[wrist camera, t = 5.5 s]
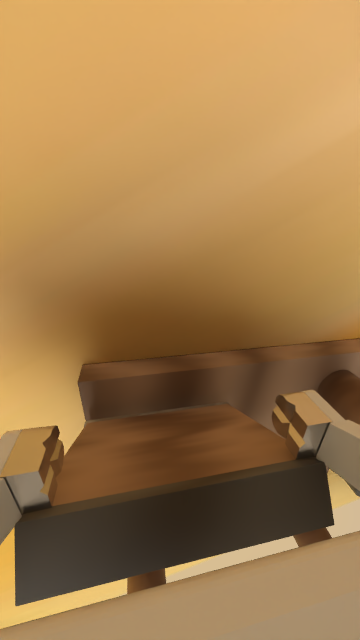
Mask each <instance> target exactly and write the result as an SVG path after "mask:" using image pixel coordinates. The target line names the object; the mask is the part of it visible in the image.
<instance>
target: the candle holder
mask: <svg viewBox="0 0 360 640" xmlns="http://www.w3.org/2000/svg"><path fill="white" fill-rule="evenodd" d="M345 481H346V480H345ZM346 482H347V481H346ZM347 484H348V485H349V486H350V487H351V489H352V490H353V491H354V493H355V494H356V495H357V496H359V497H360V491H359V490H358V489H356V488H355V487H354V486H352V485H351V484H350V483H348V482H347Z"/></svg>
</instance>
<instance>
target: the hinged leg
mask: <svg viewBox="0 0 360 640" xmlns="http://www.w3.org/2000/svg"><path fill="white" fill-rule="evenodd" d="M56 481H57V484H58V486H57V490H56V494H55V498H54V502H53V506H52V508H48V509H44V510H40V511H35V512H31V513H26V514H22V517H21V518H20V520H19V521H18V522H17V523H16V524H15V605H16V606H19V605H23V604H27V603H31V602H35V601H39V600H43V599H47V598H50V597H54V596H58V595H62V594H66V593H70V592H74V591H78V590H82V589H86V588H90V587H94V586H97V585H101V584H105V583H109V582H113V581H117V580H121V579H125V578H129V577H133V576H137V575H141V574H145V573H148V572H152V571H156V570H160V569H164V568H168V567H172V566H176V565H180V564H184V563H188V562H192V561H195V560H199V559H203V558H207V557H211V556H215V555H219V554H223V553H227V552H231V551H235V550H239V549H242V548H246V547H250V546H254V545H258V544H262V543H266V542H270V541H273V540H278V539H281V538H285V537H289V536H293V535H297V534H301V533H305V532H309V531H313V530H317V529H321V528H325V527H328V526H332V525H334V519H333V513H332V506H331V499H330V492H329V485H328V478H327V471H326V465H325V462H323V461H319V460H318V459H316V457H310V458H304V459H298V460H295V458H294V457H293V455H292V454H291V452H290V451H289V449H288V448H287V446H286V445H285V439H284V438H282V437H280V436H279V435H277V434H276V433H274V432H272V431H271V430H269V429H268V428H266V427H264V426H263V425H261V424H259V423H258V422H256V421H255V420H253V419H251V418H250V417H248V416H247V415H245V414H243V413H242V412H240V411H238V410H237V409H235V408H234V407H232V406H230V404H229V403H228V402H220V403H213V404H206V405H198V406H191V407H183V408H176V409H169V410H161V411H154V412H146V413H139V414H132V415H124V416H117V417H110V418H102V419H95V420H87V421H86V422H85V425H84V429H83V430H82V431H81V433H80V434H79V436H78V437H77V439H76V440H75V442H74V443H73V444H72V446H71V447H70V449H69V450H68V452H67V453H66V455H65V456H64V460H63V466H62V470H61V472H60V473H59V474H58V476H57V477H56Z"/></svg>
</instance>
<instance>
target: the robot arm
mask: <svg viewBox="0 0 360 640" xmlns="http://www.w3.org/2000/svg"><path fill="white" fill-rule="evenodd" d="M275 403H276V404H277V406H276V407H275V408H274V409H273V412H272V422H273V425H274V428H275V430H276V431H277V433H278V434H279V435H281V436H282V437H284V438H285V445H286V446H287V448H288V449H289V451H290V452H291V454H292V455H293V457H294V458H295V460H298V459H304V458H310V457H316V459H318V460H319V461H323V462H325V465H326V466H327V467H328V468H330V469H331V470H332V471H334V472H335V473H336V474H338V475H339V476H340V477H342V478H343V479H344V480H346V481H347V482H348V483H350V484H351V485H352V486H354V487H355V488H356V489H358V490H359V491H360V425H359V424H357V423H355V422H353V421H350V420H345V419H344V418H343V417H342V416H341V415H340V414H339V413H338V412H337V411H336V410H334V409H333V408H332V407H331V406H330V405H329V404H328V403H327V402H326V401H325V400H324V399H323V398H322V397H321V396H320V395H319V394H318V393H317V392H316V391H314V390H307V391H301V392H293V393H286V394H279V395H278V396H277V397H276V400H275ZM59 433H60V432H59V429H58V426H46V427H38V428H29V429H22V430H13V431H7V432H6V433H4V434H3V435H2V437H1V439H0V545H1V543H2V542H3V541H4V539H5V538H6V537H7V535H8V534H9V533H10V532H11V530H12V529H13V528H14V526H15V524H16V523H17V522H18V521H19V520H20V518H21V517H22V514H26V513H31V512H35V511H40V510H44V509H48V508H52V506H53V502H54V498H55V494H56V490H57V486H58V484H57V481H56V477H57V476H58V474H59V473H60V472H61V470H62V466H63V460H64V446H63V443H62V441H61V440H59V439H58V437H59ZM0 640H360V531H357V532H353V533H349V534H346V535H342V536H339V537H335V538H331V539H328V540H324V541H320V542H317V543H313V544H309V545H306V546H302V547H298V548H295V549H291V550H287V551H284V552H280V553H276V554H273V555H269V556H266V557H262V558H258V559H254V560H251V561H247V562H244V563H240V564H236V565H233V566H229V567H225V568H222V569H218V570H214V571H211V572H207V573H203V574H200V575H196V576H193V577H189V578H185V579H182V580H178V581H174V582H171V583H167V584H163V585H160V586H156V587H152V588H149V589H145V590H141V591H138V592H134V593H130V594H127V595H123V596H119V597H116V598H112V599H108V600H105V601H101V602H98V603H94V604H90V605H87V606H83V607H79V608H76V609H72V610H68V611H65V612H61V613H57V614H54V615H50V616H46V617H43V618H39V619H36V620H32V621H28V622H25V623H21V624H17V625H14V626H10V627H6V628H3V629H0Z"/></svg>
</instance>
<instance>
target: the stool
mask: <svg viewBox="0 0 360 640" xmlns="http://www.w3.org/2000/svg"><path fill="white" fill-rule="evenodd" d="M78 386H79V391H80V396H81V401H82V405H83V410H84V415H85V419H86V421H87V420H95V419H102V418H110V417H117V416H124V415H132V414H139V413H146V412H154V411H161V410H169V409H176V408H183V407H191V406H198V405H206V404H213V403H220V402H228V403H229V404H230V406H232V407H234V408H235V409H237V410H238V411H240V412H242V413H243V414H245V415H247V416H248V417H250V418H251V419H253V420H255V421H256V422H258V423H259V424H261V425H263V426H264V427H266V428H268V429H269V430H271V431H272V432H274V433H276V434H277V435H279V434H278V433H277V431H276V430H275V428H274V425H273V422H272V412H273V409H274V408H275V407H276V406H277V404H276V403H275V400H276V397H277V396H278V395H279V394H286V393H293V392H301V391H307V390H314V391H316V392H317V393H318V394H319V395H320V396H321V397H322V398H323V399H324V400H325V401H326V402H327V403H328V404H329V405H330V406H331V407H332V408H333V409H334V410H336V411H337V412H338V413H339V414H340V415H341V416H342V417H343V418H344V419H345V420H350V421H353V422H355V423H357V424H359V425H360V339H350V340H339V341H329V342H318V343H308V344H297V345H287V346H276V347H266V348H255V349H245V350H234V351H224V352H213V353H203V354H192V355H182V356H171V357H161V358H150V359H140V360H129V361H119V362H108V363H98V364H87V365H83V366H82V369H81V372H80V376H79V379H78ZM279 436H280V437H282V436H281V435H279ZM282 438H284V437H282ZM284 439H285V438H284ZM328 470H329V468H328V467H327V466H326V471H327V473H328ZM293 536H294V538H295V540H296V542H297V544H298V546H299V547H302V546H306V545H309V544H313V543H317V542H320V541H324V540H328V539H331V538H332V537H331V535H330V534H329V532H328V531H327V529H326V527H325V528H321V529H317V530H313V531H309V532H305V533H301V534H297V535H293ZM163 584H166V577H165V568H164V569H160V570H156V571H152V572H148V573H145V574H141V575H137V576H133V577H129V578H128V585H127V594H130V593H134V592H138V591H141V590H145V589H149V588H152V587H156V586H160V585H163Z"/></svg>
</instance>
